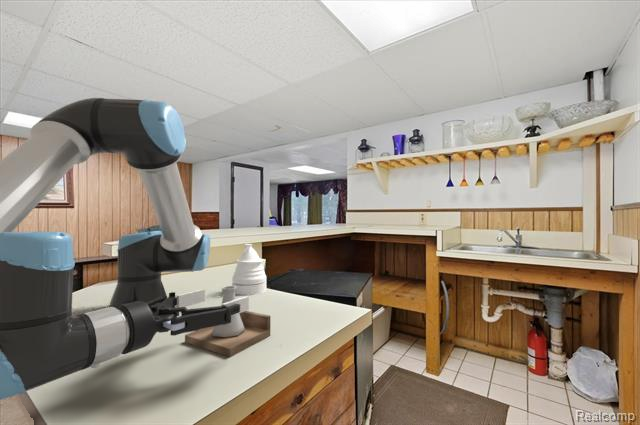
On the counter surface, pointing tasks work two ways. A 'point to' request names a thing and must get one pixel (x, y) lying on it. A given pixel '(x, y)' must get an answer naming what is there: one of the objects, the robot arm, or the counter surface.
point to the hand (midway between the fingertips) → (224, 298)
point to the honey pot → (249, 273)
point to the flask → (236, 322)
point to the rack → (229, 346)
